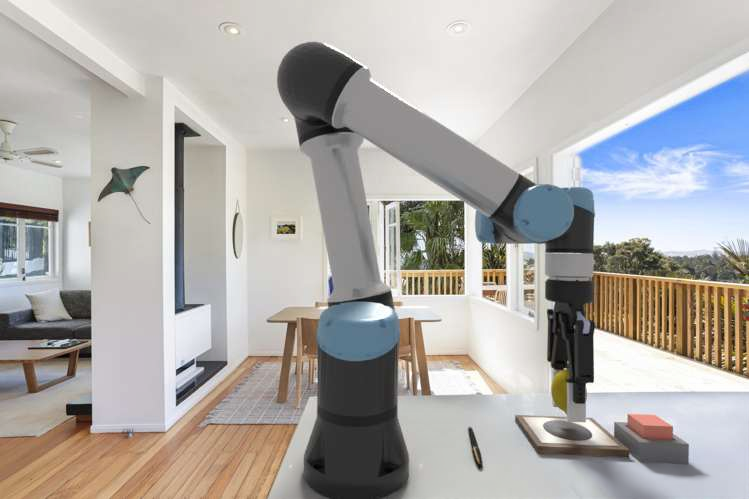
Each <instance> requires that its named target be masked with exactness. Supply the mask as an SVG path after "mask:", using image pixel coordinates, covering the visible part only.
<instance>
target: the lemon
mask: <svg viewBox="0 0 749 499" xmlns="http://www.w3.org/2000/svg"><path fill="white" fill-rule="evenodd" d="M565 379H570V375H569V368H567V369H564V370H563V371H560V372H559V373H557V374H556V375H555V377H554V379H553V381H552V380H551V387H550V390H551V399H552V398H553V401H554V403H555V404H556V406H557V407H556V408H559V410H561V411H563V412H564V413H565V414H566V415H567V382H566V380H565ZM587 397H588V391H587V388H586V401H587V399H588V398H587Z"/></svg>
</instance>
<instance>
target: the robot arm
mask: <svg viewBox="0 0 749 499" xmlns="http://www.w3.org/2000/svg"><path fill="white" fill-rule="evenodd" d="M371 73H372V72H371V70H370V68H368V67H367V66H366V65H363V64H362V63H361V62H359V61H357V60H355V59H354V58H352V57H351V56H350V55H348V54H347V53H345V52H343V51H341V50H339V49H338V48H336V47H334V46H333V45H330V44H327V43H324V42H319V41H306V42H302V43H299V44H298V45H296V46H294V47H293V48H291V49H290V50H289V51H288V52H287V53H285V55H284V56H283V58H282V59H281V61H280V63H279V66H278V70H277V77H276V86H277V89H278V90H277V91H278V94H279V97H280V99H281V101H282V102H283V104H284V106H285V107H286V109H287V110H288V111H289V112H290V114H291V115H292V116H293V120H294V123H295V128H296V133H297V139H298V144H299V149H300V150H299V151H300V152H301V153H302V154H304V155H305V156H307V157H308V158H309V159H310V163H311V168H312V175H313V179H314V180H313V181H314V185H315V190H316V191H315V192H316V196H317V202H318V203H317V204H318V208H319V212H320V218H321V219H320V220H321V225H322V230H323V236H324V241H325V242H324V243H325V246H326V247H325V248H326V253H327V258H328V264H329V268H330V269H329V270H330V274H331V281H332V286H333V290H332V292H331V294H330V295H329V296H328V298H327V306H328V307H327V308H325V309H324V310H323V311H322V312H321V313H320V315H319V318H318V319H319V320H318V326H317V329H316V341H317V371H316V372H317V374H316V375H317V376H316V377H317V379H316V380H317V381H316V382H317V385H316V386H317V387H316V390H317V391H316V398H317V399H316V418H315V421H314V424H313V427H312V429H311V433H310V436H309V439H308V441H307V445H306V448H305V451H304V454H303V478H304V479H305V480H304V481H305V482H306V483H307V485H308V486H309V487H310V488H312V490H314V491H316V492H317V493H319V494H321V495H323V496H326V497H329V498H332V499H374V498H376V499H379V498H378V497H380V498H382V496H383V497H386V496H388V495H390V494H392V493H394V492H396V491H397V490H399V489H400V488H401V487H403V485H404V484H405V483H406V482H407V480H408V478H409V474H410V453H409V451H408V448H407V444H406V440H405V437H404V433H403V431H402V430H403V429H402V427H401V424H400V419H399V416H398V412H399V411H398V409H399V408H398V405H399V404H398V400H399V397H398V396H399V390H398V389H399V349H400V346H399V345H400V339H401V337H400V336H401V326H400V322H399V316H398V313H397V312H396V308H395V303H394V298H393V293H392V288H391V287H390V286H388V285H387V284H386V283H385V282H383V281H382V280H381V279H382V278H381V273H380V268H379V264H378V257H377V252H376V247H375V241H374V236H373V230H372V229H373V228H372V225H371V219H370V218H371V217H370V213H369V208H368V202H367V197H366V192H365V185H364V180H363V175H362V174H363V173H362V170H361V164H360V163H361V162H360V158H359V157H360V156H359V153H358V152H359V151H358V150H359V148H360V147H361V146H362V145H363V143H364V142H365V140H366V141H368V142H369V143H371V144H373V145H374V146H375V147H377V148H379V149H381V150H382V151H384V152H385V153H386V154H388V155H389V156H392V158H395V159H396V160H397V161H399V162H401V163H402V164H403V165H405V166H407V167H408V168H410V169H411V170H413V171H415V172H416V173H418V174H419V175H421V176H422V177H424V178H426V180H428V181H430V182H432V183H434V184H435V185H437V186H438V187H439V188H442V189H443V190H444V191H446V192H448V193H449V194H451V195H452V196H454V197H456V198H457V199H458V200H460V201H461V202H463V203H465V204H466V205H468V206H470V207H471V208H472V209H474V210H475V215H474V218H475V220H474V230H475V237H476V239H477V241H478V242H479V243H482V244H493V245H499V244H506V245H508V244H510V245H511V244H512V245H516V244H517V245H521V244H523V245H524V244H537V245H542V244H543V245H544V246H545V250H544V251H545V253H544V275H545V276H546V277H548V278H547V279H546V280H545V282H544V283H545V284H544V285H545V286H544V287H545V288H544V290H545V291H544V298H545V300H546V301H549V302H553V303H554V305H553V308H547V309H546V315H547V351H546V354H547V355H546V360H547V362H548V363H550V367H551V369H552V372H551V374H552V380H551V382H552V381H553V379H554V377H555V375H556V374H557V373H559V372H560V371H563V370H566V369H567V368H569V375H570V379H565V380H566V382H567V414H566V417H567V421H568V422H586V418H587V415H586V414H587V410H586V409H587V400H586V389H587V384H593V383H594V382H595V363H594V362H595V360H594V358H595V357H594V356H595V355H594V354H595V351H594V348H595V346H594V342H595V341H594V333H595V329H596V322H595V320H593V319H592V320H589V319H587V317H586V311H585V310H586V309H585V305H586V304H591V303H592V302H594V300H595V299H594V298H595V296H594V295H595V294H594V291H595V290H594V288H595V287H594V286H595V283H594V282H593V280H590V278H593V277H594V265H596V260H595V258H594V252H595V251H594V244H595V243H594V240H595V238H594V236H595V217H596V212H595V200H594V194H593V192H592V190H591V189H590V188H587V187H584V186H583V187H581V186H569V187H559V186H558V185H554V184H550V183H549V184H547V183H546V184H545V183H544V184H543V183H539V184H537V183H535V182H534V181H533V180H531V179H529V178H528V177H526V176H525V175H522V174H521V173H519V172H517V171H515V170H514V169H513V168H511V167H510V166H508V165H506V164H505V163H503V162H502V161H500V160H498V159H497V158H495V157H494V156H491V154H489V153H488V152H486V151H485V150H483V149H481V148H480V147H479V146H476V145H475V144H473V143H472V142H470V141H469V140H467V139H466V138H464V137H462V136H461V135H459V134H458V133H456V132H454V130H451V129H450V128H448V127H447V126H446V125H443V124H442V123H441V122H439V121H437V120H436V119H434V118H433V117H431V116H429V115H428V114H426V113H424V112H423V111H422V110H420V109H418V108H417V107H415V106H414V105H413V104H411V103H409V102H408V101H406V100H404V99H402V97H400V96H398V95H397V94H395V93H393V92H392V91H390V90H388V89H387V88H385V87H384V86H383V85H381V84H380V83H378V82H376V81H375V80H373V78H372V74H371ZM551 399H552V400H551V401H552V402H551V406H552V407H553V408H558V407H557V406H556V404H555V403H554V401H553V398H552V397H551Z"/></svg>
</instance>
